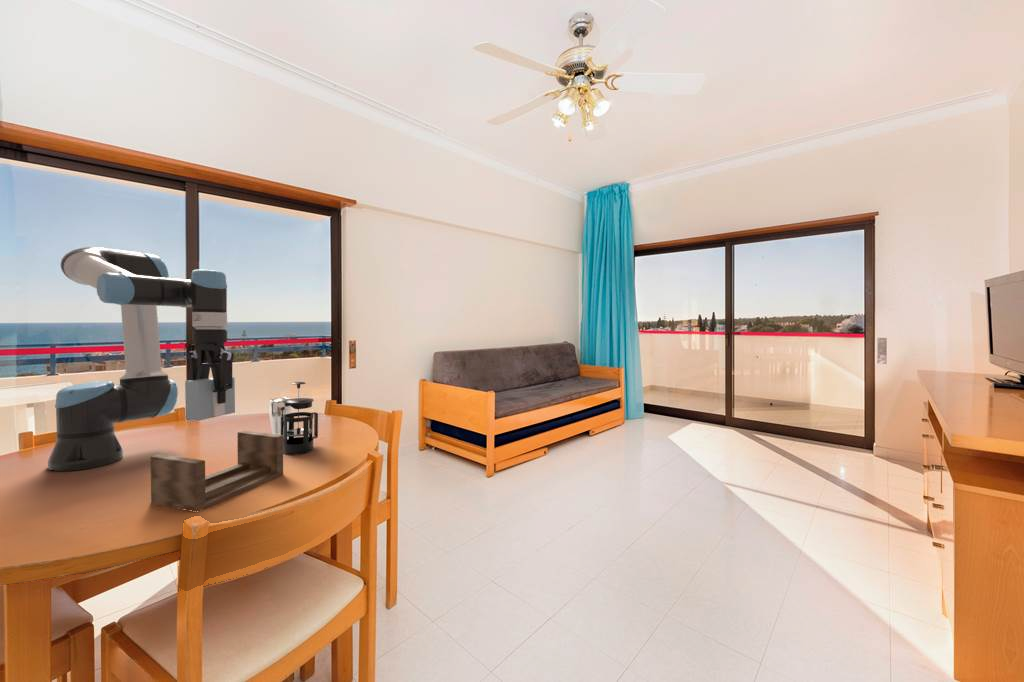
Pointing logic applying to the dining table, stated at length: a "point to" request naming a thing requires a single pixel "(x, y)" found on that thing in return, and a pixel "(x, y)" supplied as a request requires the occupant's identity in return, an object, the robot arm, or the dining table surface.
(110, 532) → the dining table surface
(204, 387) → the plain grey rectangular block
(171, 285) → the robot arm
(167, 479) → the track base
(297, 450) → the french press
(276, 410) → the white silver canister
